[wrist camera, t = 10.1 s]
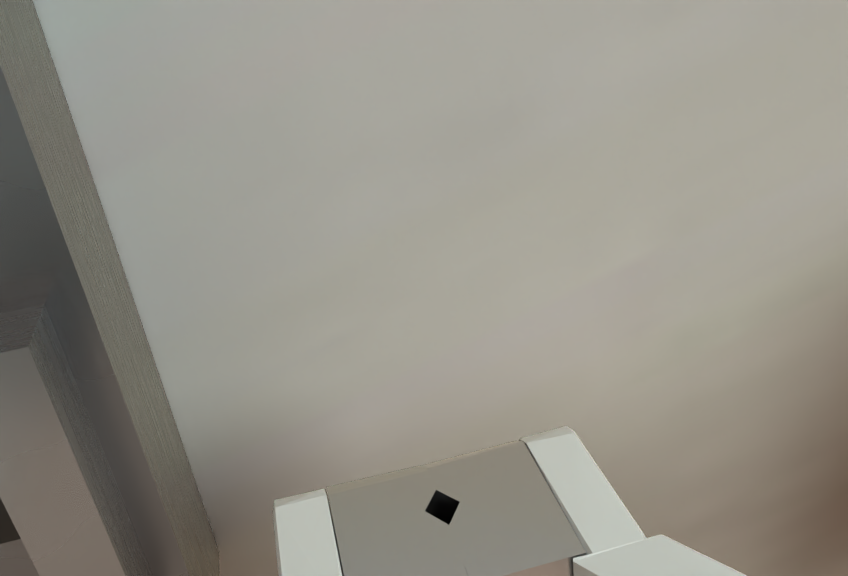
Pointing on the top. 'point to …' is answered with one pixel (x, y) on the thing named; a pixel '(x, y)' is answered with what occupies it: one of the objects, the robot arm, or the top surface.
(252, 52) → the top surface
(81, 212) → the panel
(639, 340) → the top surface
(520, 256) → the top surface
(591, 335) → the top surface
